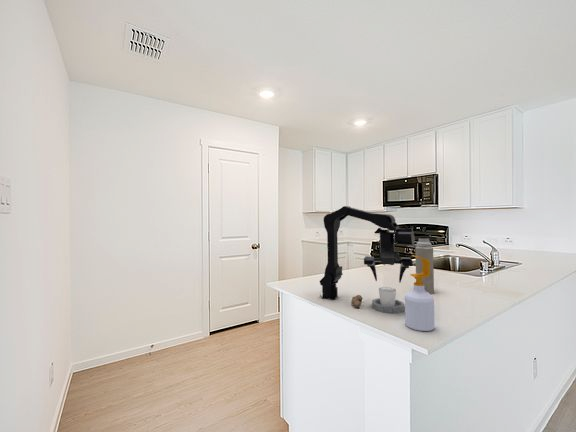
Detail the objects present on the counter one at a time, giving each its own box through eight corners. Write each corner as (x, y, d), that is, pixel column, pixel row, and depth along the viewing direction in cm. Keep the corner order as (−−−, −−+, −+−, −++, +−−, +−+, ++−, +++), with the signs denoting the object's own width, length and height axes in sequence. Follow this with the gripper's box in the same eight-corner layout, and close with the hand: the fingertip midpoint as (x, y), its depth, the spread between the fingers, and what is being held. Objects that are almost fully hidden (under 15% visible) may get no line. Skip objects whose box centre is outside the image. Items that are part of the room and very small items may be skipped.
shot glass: (398, 308, 109) (397, 291, 109) (380, 308, 110) (380, 290, 110) (394, 303, 116) (394, 287, 116) (377, 302, 117) (377, 286, 117)
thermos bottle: (417, 289, 141) (416, 235, 141) (434, 291, 137) (433, 235, 137) (415, 293, 134) (414, 236, 134) (433, 295, 130) (432, 236, 130)
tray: (371, 311, 109) (371, 305, 109) (372, 302, 121) (372, 297, 121) (405, 314, 105) (405, 308, 105) (402, 304, 117) (402, 299, 117)
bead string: (360, 309, 112) (360, 301, 112) (350, 308, 113) (350, 300, 113) (362, 300, 123) (362, 294, 123) (353, 300, 124) (352, 293, 124)
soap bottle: (400, 322, 98) (399, 253, 98) (424, 320, 98) (423, 253, 99) (414, 332, 89) (412, 257, 89) (440, 331, 90) (439, 256, 90)
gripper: (362, 246, 109) (363, 285, 108) (413, 246, 102) (414, 288, 102) (364, 243, 119) (365, 278, 119) (410, 243, 113) (411, 281, 113)
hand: (387, 281), depth 113 cm, fingers open, 9 cm apart
